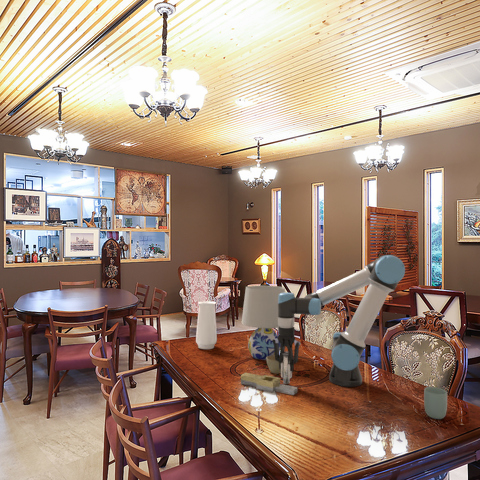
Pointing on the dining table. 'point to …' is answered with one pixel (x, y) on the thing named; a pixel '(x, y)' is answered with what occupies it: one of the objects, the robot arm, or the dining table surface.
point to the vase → (206, 325)
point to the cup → (435, 402)
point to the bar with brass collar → (267, 383)
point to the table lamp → (262, 318)
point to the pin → (285, 367)
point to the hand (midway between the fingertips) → (286, 377)
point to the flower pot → (273, 364)
